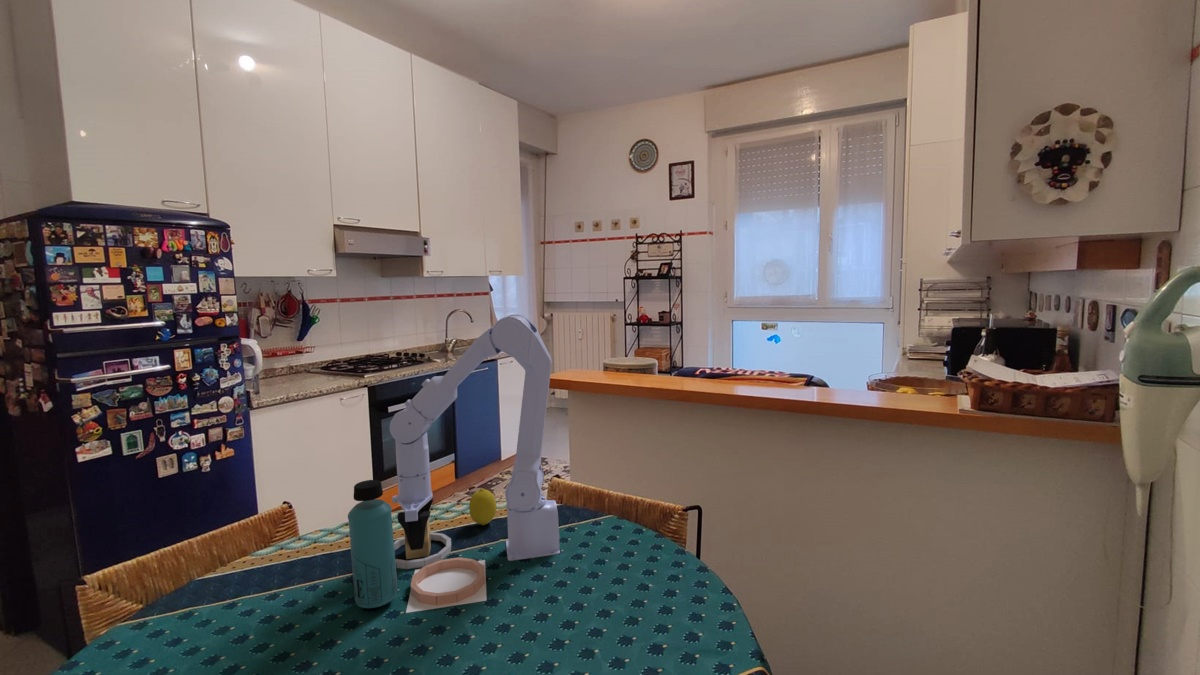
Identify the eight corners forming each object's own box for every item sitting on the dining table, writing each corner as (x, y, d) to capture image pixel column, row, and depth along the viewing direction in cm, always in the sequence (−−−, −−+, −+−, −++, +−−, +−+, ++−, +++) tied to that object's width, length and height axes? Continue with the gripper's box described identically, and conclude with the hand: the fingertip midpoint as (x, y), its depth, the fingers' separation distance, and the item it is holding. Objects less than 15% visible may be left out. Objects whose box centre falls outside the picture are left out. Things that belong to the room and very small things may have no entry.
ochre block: (430, 547, 103) (428, 512, 102) (429, 558, 99) (426, 521, 98) (408, 550, 102) (406, 515, 101) (406, 561, 98) (403, 524, 97)
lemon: (500, 520, 114) (498, 483, 114) (492, 532, 109) (490, 493, 108) (475, 519, 115) (473, 483, 114) (466, 531, 109) (464, 493, 109)
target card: (485, 562, 97) (485, 559, 97) (486, 602, 84) (486, 600, 84) (415, 571, 94) (415, 569, 94) (406, 615, 82) (405, 612, 82)
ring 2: (484, 562, 96) (483, 554, 96) (485, 598, 85) (484, 588, 85) (415, 571, 93) (415, 563, 93) (407, 609, 82) (407, 600, 82)
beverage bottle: (408, 597, 86) (400, 476, 84) (378, 622, 80) (369, 492, 78) (375, 591, 88) (366, 473, 86) (344, 614, 82) (334, 488, 80)
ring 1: (452, 536, 107) (451, 529, 107) (449, 565, 96) (449, 557, 96) (390, 544, 105) (390, 536, 105) (380, 574, 94) (380, 566, 93)
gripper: (396, 462, 105) (400, 528, 106) (384, 488, 91) (389, 565, 92) (433, 458, 107) (437, 524, 108) (427, 484, 93) (432, 559, 94)
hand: (418, 542), depth 100 cm, fingers closed on ochre block, 4 cm apart
